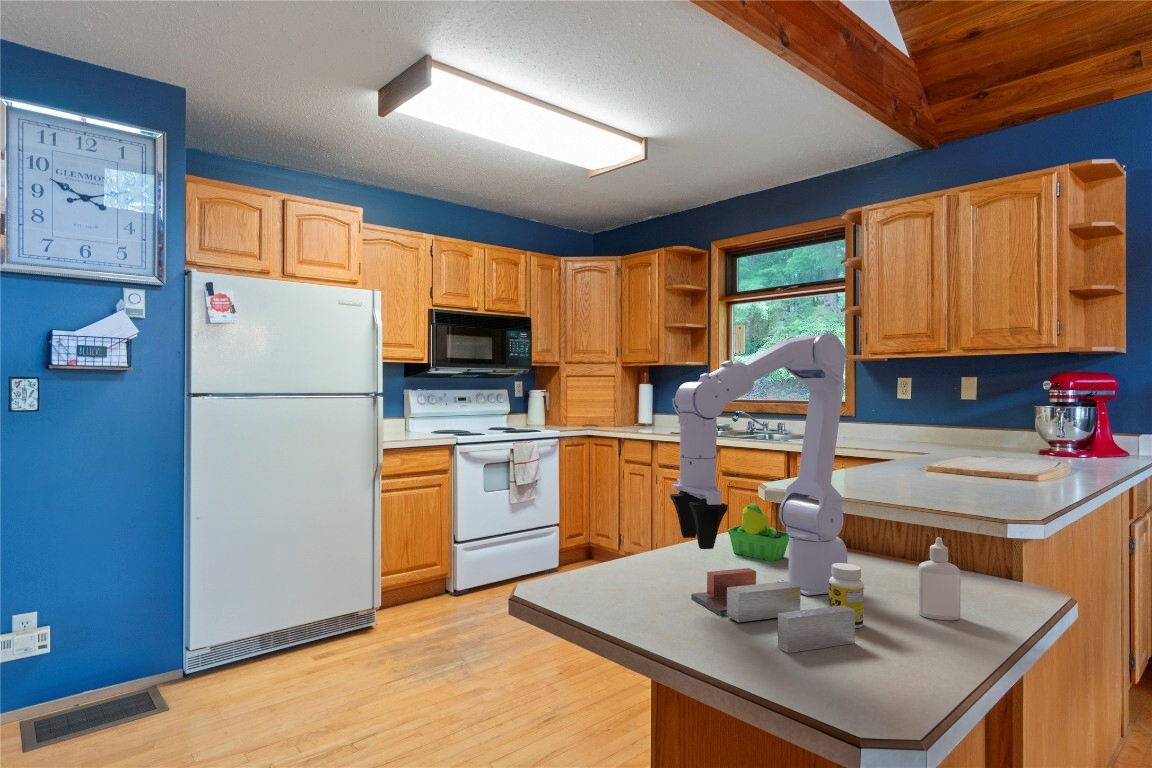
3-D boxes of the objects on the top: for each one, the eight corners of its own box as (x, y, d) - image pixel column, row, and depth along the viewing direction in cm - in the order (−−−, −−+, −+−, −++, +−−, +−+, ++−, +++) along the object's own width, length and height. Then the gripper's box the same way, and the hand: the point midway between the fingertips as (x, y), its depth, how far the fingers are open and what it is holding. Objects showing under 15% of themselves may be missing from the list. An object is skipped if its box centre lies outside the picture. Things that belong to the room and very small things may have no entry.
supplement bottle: (822, 618, 97) (823, 562, 97) (852, 617, 97) (853, 561, 98) (838, 629, 92) (838, 570, 92) (869, 629, 93) (870, 570, 93)
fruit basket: (792, 557, 134) (793, 503, 134) (772, 565, 128) (773, 508, 128) (743, 547, 142) (744, 496, 142) (722, 554, 135) (722, 500, 136)
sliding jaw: (756, 593, 108) (756, 567, 108) (800, 614, 98) (800, 585, 98) (698, 599, 104) (699, 572, 104) (738, 622, 94) (738, 592, 94)
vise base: (753, 591, 109) (753, 587, 109) (785, 607, 101) (785, 602, 101) (691, 598, 105) (691, 593, 105) (720, 615, 97) (720, 610, 97)
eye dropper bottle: (955, 624, 95) (956, 543, 95) (914, 615, 99) (914, 537, 99) (963, 617, 98) (963, 538, 98) (922, 609, 102) (922, 532, 102)
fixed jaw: (843, 637, 89) (844, 605, 89) (854, 643, 87) (854, 609, 87) (777, 647, 85) (778, 613, 85) (787, 653, 83) (787, 618, 84)
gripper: (660, 452, 109) (659, 533, 109) (689, 462, 94) (689, 555, 94) (699, 452, 110) (699, 532, 110) (735, 461, 96) (734, 553, 96)
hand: (697, 542), depth 102 cm, fingers open, 7 cm apart
